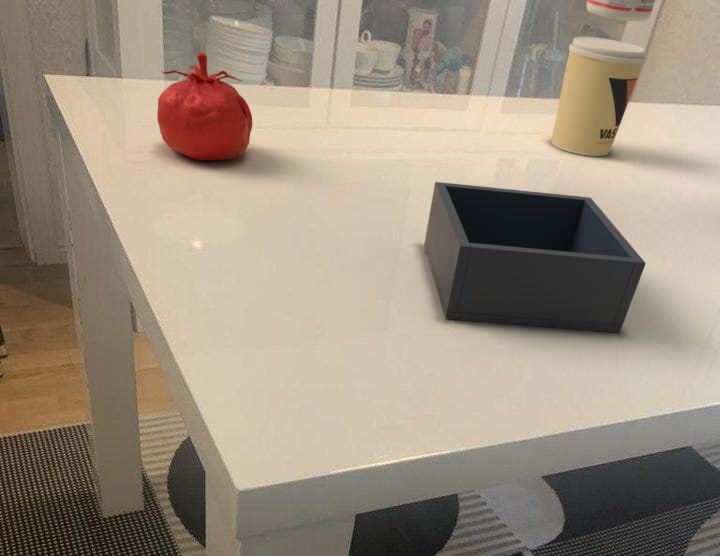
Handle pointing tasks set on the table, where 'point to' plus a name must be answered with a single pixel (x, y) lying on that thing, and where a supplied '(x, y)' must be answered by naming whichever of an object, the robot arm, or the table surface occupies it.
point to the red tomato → (204, 115)
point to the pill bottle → (622, 9)
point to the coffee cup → (595, 94)
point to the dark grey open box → (529, 259)
